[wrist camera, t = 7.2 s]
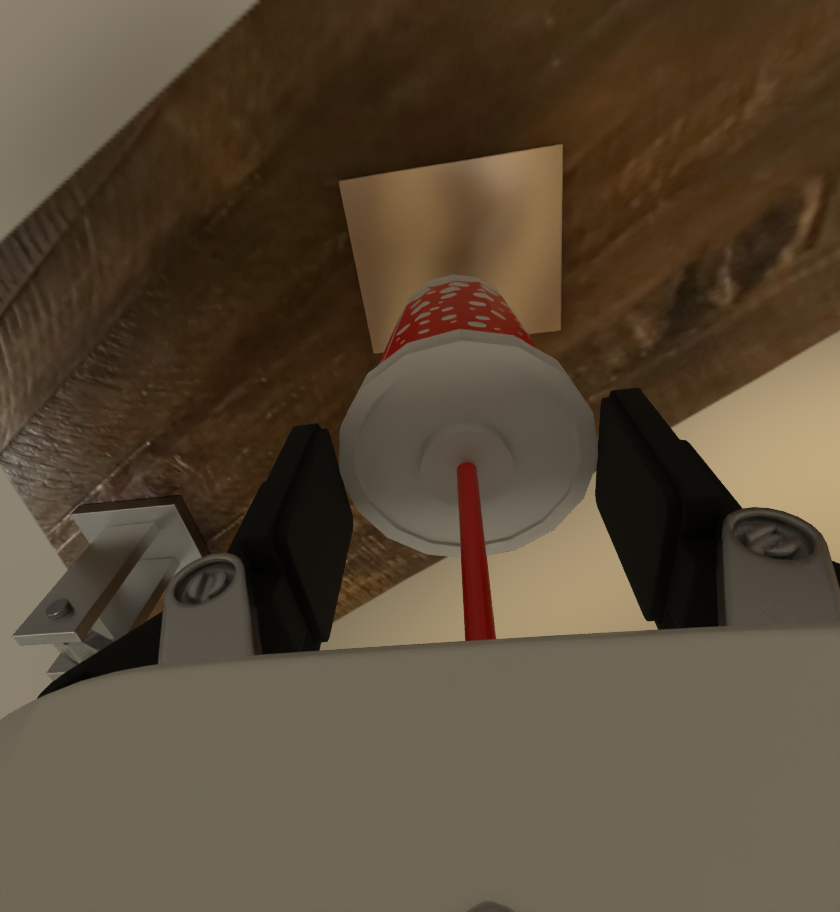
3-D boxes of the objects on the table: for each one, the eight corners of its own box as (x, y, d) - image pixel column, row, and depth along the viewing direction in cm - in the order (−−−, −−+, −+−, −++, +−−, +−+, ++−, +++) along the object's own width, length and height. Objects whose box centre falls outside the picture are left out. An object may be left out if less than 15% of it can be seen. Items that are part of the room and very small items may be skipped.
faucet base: (180, 495, 40) (95, 613, 30) (216, 565, 44) (152, 689, 34) (78, 505, 41) (-37, 623, 31) (123, 573, 45) (35, 696, 35)
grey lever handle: (191, 650, 30) (147, 697, 27) (211, 681, 31) (171, 728, 29) (78, 597, 35) (32, 632, 33) (100, 626, 37) (58, 661, 35)
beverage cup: (460, 431, 22) (486, 787, 10) (345, 343, 19) (205, 659, 8) (568, 326, 19) (782, 644, 7) (449, 212, 17) (474, 393, 5)
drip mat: (374, 350, 33) (373, 354, 32) (340, 180, 27) (338, 180, 27) (559, 327, 31) (561, 330, 31) (560, 143, 26) (562, 143, 26)
